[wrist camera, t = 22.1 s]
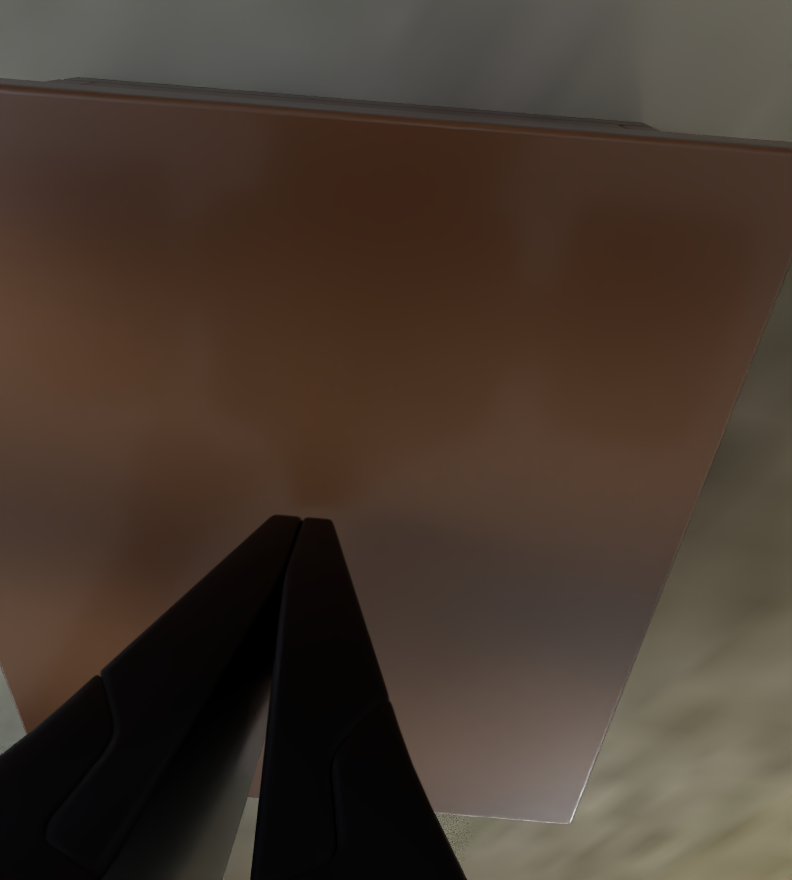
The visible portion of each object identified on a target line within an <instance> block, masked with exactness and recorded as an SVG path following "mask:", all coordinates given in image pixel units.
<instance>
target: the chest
mask: <svg viewBox="0 0 792 880" xmlns="http://www.w3.org/2000/svg"><path fill="white" fill-rule="evenodd" d="M46 82H53V83H66V84H78V85H90V86H103V87H115V88H128V89H140V90H152V91H165V92H177V93H189V94H202V95H214V96H226V97H239V98H251V99H264V100H276V101H288V102H301V103H313V104H325V105H338V106H350V107H362V108H375V109H387V110H400V111H412V112H424V113H437V114H449V115H461V116H474V117H486V118H499V119H511V120H523V121H536V122H548V123H560V124H573V125H585V126H597V127H610V128H622V129H635V130H647V131H659V130H657V129H655V128H652V127H650V126H648V125H646V124H644V123H637V122H624V121H612V120H600V119H587V118H575V117H562V116H550V115H538V114H525V113H513V112H501V111H488V110H476V109H463V108H451V107H439V106H426V105H414V104H402V103H389V102H377V101H364V100H352V99H340V98H327V97H315V96H303V95H290V94H278V93H265V92H253V91H241V90H228V89H216V88H204V87H191V86H179V85H167V84H154V83H142V82H129V81H117V80H105V79H92V78H80V77H76V78H69V79H64V80H60V79H59V80H52V81H46ZM659 132H661V131H659Z"/></svg>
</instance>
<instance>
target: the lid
mask: <svg viewBox="0 0 792 880" xmlns="http://www.w3.org/2000/svg"><path fill="white" fill-rule="evenodd" d="M791 260H792V142H783V141H771V140H758V139H746V138H734V137H721V136H709V135H696V134H684V133H672V132H659V131H647V130H635V129H622V128H610V127H597V126H585V125H573V124H560V123H548V122H536V121H523V120H511V119H499V118H486V117H474V116H461V115H449V114H437V113H424V112H412V111H400V110H387V109H375V108H362V107H350V106H338V105H325V104H313V103H301V102H288V101H276V100H264V99H251V98H239V97H226V96H214V95H202V94H189V93H177V92H165V91H152V90H140V89H128V88H115V87H103V86H90V85H78V84H66V83H53V82H41V81H29V80H16V79H4V78H0V666H1V669H2V671H3V674H4V677H5V679H6V682H7V685H8V687H9V690H10V692H11V695H12V698H13V700H14V703H15V706H16V708H17V711H18V714H19V716H20V719H21V721H22V724H23V727H24V729H25V732H26V735H27V734H28V733H29V732H31V731H32V730H33V729H34V728H36V727H37V726H38V725H39V724H40V723H41V722H43V721H44V720H45V719H46V718H47V717H48V716H50V715H51V714H52V713H53V712H54V711H55V710H56V709H58V708H59V707H60V706H61V705H62V704H63V703H65V702H66V701H67V700H68V699H69V698H70V697H72V696H73V695H74V694H75V693H76V692H77V691H78V690H79V689H80V688H81V687H83V686H84V685H85V684H86V683H87V682H88V681H89V680H90V679H91V678H93V677H94V676H95V675H99V676H100V671H101V670H102V669H103V668H104V667H105V666H106V665H107V664H108V663H109V662H111V661H112V660H113V659H114V658H115V657H116V656H117V655H118V654H119V653H120V652H122V651H123V650H124V649H125V648H126V647H127V646H128V645H129V644H130V643H132V642H133V641H134V640H135V639H136V638H137V637H138V636H139V635H140V634H141V633H143V632H144V631H145V630H146V629H147V628H148V627H149V626H150V625H151V624H152V623H154V622H155V621H156V620H157V619H158V618H159V617H160V616H161V615H162V614H164V613H165V612H166V611H167V610H168V609H169V608H170V607H171V606H172V605H173V604H175V603H176V602H177V601H178V600H179V599H180V598H181V597H182V596H183V595H184V594H186V593H187V592H188V591H189V590H190V589H191V588H192V587H193V586H194V585H196V584H197V583H198V582H199V581H200V580H201V579H202V578H203V577H204V576H205V575H207V574H208V573H209V572H210V571H211V570H212V569H213V568H214V567H215V566H217V565H218V564H219V563H220V562H221V561H222V560H223V559H224V558H225V557H226V556H228V555H229V554H230V553H231V552H232V551H233V550H234V549H235V548H236V547H237V546H239V545H240V544H241V543H242V542H243V541H244V540H245V539H246V538H247V537H249V536H250V535H251V534H252V533H253V532H254V531H255V530H256V529H257V528H258V527H260V526H261V525H262V524H263V523H264V522H265V521H266V520H267V519H268V518H269V517H271V516H273V515H276V514H279V515H290V516H299V517H300V518H301V519H302V521H303V519H304V518H306V517H313V518H325V519H330V520H332V521H333V523H334V526H335V529H336V532H337V535H338V538H339V541H340V545H341V548H342V551H343V554H344V557H345V560H346V563H347V566H348V570H349V573H350V576H351V579H352V582H353V585H354V588H355V591H356V594H357V598H358V601H359V604H360V607H361V610H362V613H363V616H364V619H365V622H366V626H367V629H368V632H369V635H370V638H371V641H372V644H373V647H374V650H375V654H376V657H377V660H378V663H379V666H380V669H381V672H382V675H383V679H384V682H385V685H386V688H387V691H388V694H389V698H390V699H389V701H390V702H391V703H392V706H393V709H394V712H395V715H396V718H397V721H398V724H399V727H400V730H401V733H402V735H403V738H404V741H405V744H406V746H407V749H408V752H409V755H410V757H411V760H412V763H413V766H414V768H415V770H416V772H417V775H418V777H419V779H420V781H421V784H422V786H423V788H424V790H425V793H426V795H427V797H428V800H429V802H430V804H431V806H432V808H433V810H434V813H444V814H455V815H467V816H479V817H491V818H503V819H515V820H527V821H539V822H551V823H562V824H570V823H572V820H573V817H574V815H575V812H576V810H577V807H578V805H579V802H580V800H581V797H582V794H583V792H584V789H585V787H586V784H587V782H588V779H589V777H590V774H591V771H592V769H593V766H594V764H595V761H596V759H597V756H598V754H599V751H600V748H601V746H602V743H603V741H604V738H605V736H606V733H607V731H608V728H609V725H610V723H611V720H612V718H613V715H614V713H615V710H616V708H617V705H618V702H619V700H620V697H621V695H622V692H623V690H624V687H625V685H626V682H627V679H628V677H629V674H630V672H631V669H632V667H633V664H634V662H635V659H636V656H637V654H638V651H639V649H640V646H641V644H642V641H643V639H644V636H645V633H646V631H647V628H648V626H649V623H650V621H651V618H652V616H653V613H654V610H655V608H656V605H657V603H658V600H659V598H660V595H661V593H662V590H663V587H664V585H665V582H666V580H667V577H668V575H669V572H670V570H671V567H672V564H673V562H674V559H675V557H676V554H677V552H678V549H679V547H680V544H681V541H682V539H683V536H684V534H685V531H686V529H687V526H688V524H689V521H690V518H691V516H692V513H693V511H694V508H695V506H696V503H697V501H698V498H699V495H700V493H701V490H702V488H703V485H704V483H705V480H706V478H707V475H708V472H709V470H710V467H711V465H712V462H713V460H714V457H715V455H716V452H717V449H718V447H719V444H720V442H721V439H722V437H723V434H724V431H725V429H726V426H727V424H728V421H729V419H730V416H731V414H732V411H733V408H734V406H735V403H736V401H737V398H738V396H739V393H740V391H741V388H742V385H743V383H744V380H745V378H746V375H747V373H748V370H749V368H750V365H751V362H752V360H753V357H754V355H755V352H756V350H757V347H758V345H759V342H760V339H761V337H762V334H763V332H764V329H765V327H766V324H767V322H768V319H769V316H770V314H771V311H772V309H773V306H774V304H775V301H776V299H777V296H778V293H779V291H780V288H781V286H782V283H783V281H784V278H785V276H786V273H787V270H788V268H789V265H790V263H791ZM100 677H101V676H100ZM264 748H265V741H264V745H263V748H262V751H261V755H260V758H259V761H258V764H257V768H256V771H255V774H254V778H253V781H252V784H251V788H250V791H249V794H248V797H253V798H259V794H260V785H261V776H262V766H263V757H264Z"/></svg>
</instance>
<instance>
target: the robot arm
mask: <svg viewBox="0 0 792 880" xmlns="http://www.w3.org/2000/svg"><path fill="white" fill-rule="evenodd" d="M100 676H101V677H100ZM100 676H99V675H95V676H94V677H93V678H91V679H90V680H89V681H88V682H87V683H86V684H85V685H84V686H83V687H81V688H80V689H79V690H78V691H77V692H76V693H75V694H74V695H73V696H72V697H70V698H69V699H68V700H67V701H66V702H65V703H63V704H62V705H61V706H60V707H59V708H58V709H56V710H55V711H54V712H53V713H52V714H51V715H50V716H48V717H47V718H46V719H45V720H44V721H43V722H41V723H40V724H39V725H38V726H37V727H36V728H34V729H33V730H32V731H31V732H29V733H28V734H27V735H26V736H24V737H23V738H22V739H21V740H19V741H18V742H17V743H16V744H14V745H13V746H12V747H10V748H9V749H8V750H7V751H5V752H4V753H3V754H2V755H0V880H223V876H224V873H225V870H226V867H227V863H228V860H229V857H230V853H231V850H232V847H233V844H234V840H235V837H236V834H237V830H238V827H239V824H240V820H241V817H242V814H243V811H244V807H245V804H246V801H247V797H248V794H249V791H250V788H251V784H252V781H253V778H254V774H255V771H256V768H257V764H258V761H259V758H260V755H261V751H262V748H263V745H264V741H265V748H264V757H263V766H262V776H261V785H260V794H259V804H258V813H257V822H256V832H255V841H254V850H253V860H252V869H251V878H250V880H467V879H466V877H465V874H464V872H463V870H462V868H461V866H460V864H459V862H458V860H457V858H456V856H455V854H454V852H453V850H452V848H451V846H450V843H449V841H448V839H447V837H446V835H445V833H444V831H443V829H442V827H441V825H440V823H439V821H438V819H437V817H436V815H435V813H434V810H433V808H432V806H431V804H430V802H429V800H428V797H427V795H426V793H425V790H424V788H423V786H422V784H421V781H420V779H419V777H418V775H417V772H416V770H415V768H414V766H413V763H412V760H411V757H410V755H409V752H408V749H407V746H406V744H405V741H404V738H403V735H402V733H401V730H400V727H399V724H398V721H397V718H396V715H395V712H394V709H393V706H392V703H391V702H390V701H389V699H390V698H389V694H388V691H387V688H386V685H385V682H384V679H383V675H382V672H381V669H380V666H379V663H378V660H377V657H376V654H375V650H374V647H373V644H372V641H371V638H370V635H369V632H368V629H367V626H366V622H365V619H364V616H363V613H362V610H361V607H360V604H359V601H358V598H357V594H356V591H355V588H354V585H353V582H352V579H351V576H350V573H349V570H348V566H347V563H346V560H345V557H344V554H343V551H342V548H341V545H340V541H339V538H338V535H337V532H336V529H335V526H334V523H333V521H332V520H330V519H325V518H313V517H306V518H304V519H303V521H302V519H301V518H300V517H299V516H290V515H279V514H276V515H273V516H271V517H269V518H268V519H267V520H266V521H265V522H264V523H263V524H262V525H261V526H260V527H258V528H257V529H256V530H255V531H254V532H253V533H252V534H251V535H250V536H249V537H247V538H246V539H245V540H244V541H243V542H242V543H241V544H240V545H239V546H237V547H236V548H235V549H234V550H233V551H232V552H231V553H230V554H229V555H228V556H226V557H225V558H224V559H223V560H222V561H221V562H220V563H219V564H218V565H217V566H215V567H214V568H213V569H212V570H211V571H210V572H209V573H208V574H207V575H205V576H204V577H203V578H202V579H201V580H200V581H199V582H198V583H197V584H196V585H194V586H193V587H192V588H191V589H190V590H189V591H188V592H187V593H186V594H184V595H183V596H182V597H181V598H180V599H179V600H178V601H177V602H176V603H175V604H173V605H172V606H171V607H170V608H169V609H168V610H167V611H166V612H165V613H164V614H162V615H161V616H160V617H159V618H158V619H157V620H156V621H155V622H154V623H152V624H151V625H150V626H149V627H148V628H147V629H146V630H145V631H144V632H143V633H141V634H140V635H139V636H138V637H137V638H136V639H135V640H134V641H133V642H132V643H130V644H129V645H128V646H127V647H126V648H125V649H124V650H123V651H122V652H120V653H119V654H118V655H117V656H116V657H115V658H114V659H113V660H112V661H111V662H109V663H108V664H107V665H106V666H105V667H104V668H103V669H102V670H101V671H100Z"/></svg>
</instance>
